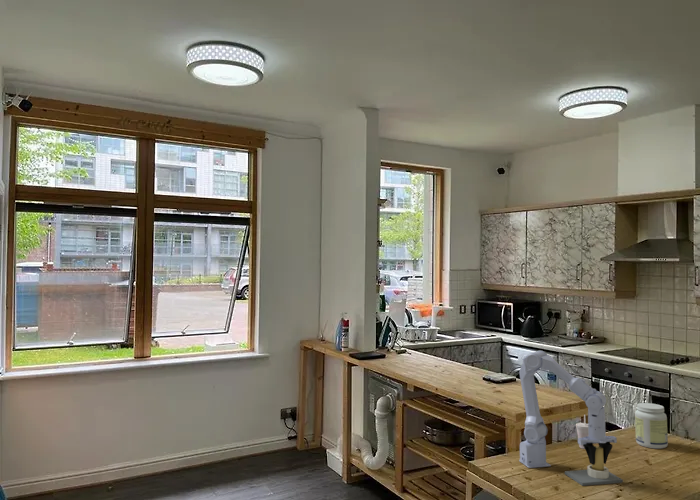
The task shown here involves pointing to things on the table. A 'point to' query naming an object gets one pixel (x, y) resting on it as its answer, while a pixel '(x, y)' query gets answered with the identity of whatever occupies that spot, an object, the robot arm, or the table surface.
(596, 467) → the peg
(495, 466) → the table surface
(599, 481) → the holder
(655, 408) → the supplement tub
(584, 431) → the smoothie
